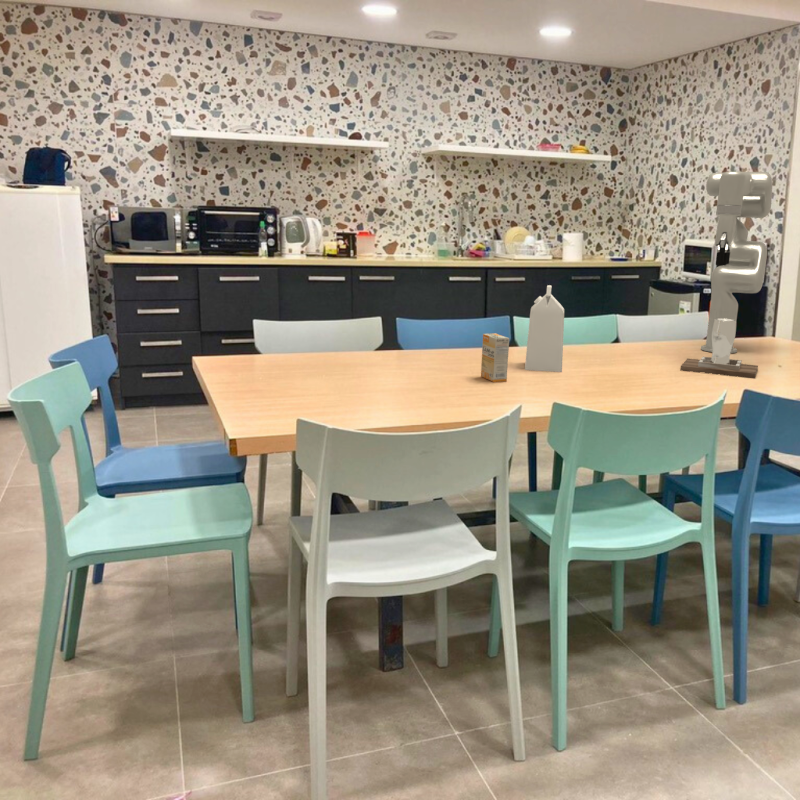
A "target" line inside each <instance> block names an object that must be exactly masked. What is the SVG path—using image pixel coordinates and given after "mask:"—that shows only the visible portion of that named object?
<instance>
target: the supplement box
mask: <svg viewBox="0 0 800 800" xmlns="http://www.w3.org/2000/svg"><path fill="white" fill-rule="evenodd" d="M509 345H510V337H507V336H504V335H501V334H498V333H496V332H495V333H482V346H481V348H482V349H481V350H482V351H481V366H480V377H481V378H484V379H485V380H488V381H491V382H492V383H503V382H505V383H506V382H507V379H508V364H509V350H510V349H509V347H510V346H509Z"/></svg>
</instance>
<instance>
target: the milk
mask: <svg viewBox="0 0 800 800" xmlns="http://www.w3.org/2000/svg"><path fill="white" fill-rule="evenodd" d="M533 303H534V304H533V305H532V306H531V308H530V313H529V322H528V334H527V341H526V342H527V343H526V352H525V354H526V355H525V365H524V370H525V371H539V372H551V373H552V372H554V373H563V356H564V355H563V354H564V353H563V351H564V330H565V329H564V328H565V308H564V307H563V305H562V304H561V303H560V302H559V301H558V300H557V299H556V297H554V295H553V294H552V285H550V284H549V285H548V284H547V286H546V293H545V294H544V295H543V296H541V295H539V296H538V297H537V298H536V299H535V300H534V301H533Z"/></svg>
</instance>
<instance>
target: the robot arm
mask: <svg viewBox="0 0 800 800" xmlns="http://www.w3.org/2000/svg"><path fill="white" fill-rule="evenodd" d="M705 185H706V193H707V195H708V196H712V197H717V201H716V202H717V204H716V212H715V216H716V217H717V216H718V219H717V225H716V233H715V239H714V246H715V247H718V248H717V252H716V258H715V265H716V266H717V267H714V269H713V270H712V272H711V276H710V279H711V280H710V283H711V292H710V293H711V295H710V296H711V297H710V305H709V306H710V307H709V314H708V322H707V323H708V324H707V330H706V332H707V333H706V338H705V339H706V340H705V344H704V345H701V346H700V350H701V351H704V352H709V353H712V352H713V350H712V330H713V324H714V319H716V318H725V319H734V320H736V321H737V319H738V312H739V303H738V301H737V299H736V297H735V296H734V295H733V293H739V294H740V293H741V294H757V293H759V292H760V291H761V289H762V287H763V285H764V279H765V271H766V265H767V257H768V248H767V246H766V243H764V242H762V241H756V240H753V241H752V240H748V235H749V230H748V229H747V227H746V225H745V224H744V223H743V222H742V221H741V220H740V219H739V218H754V219H761V218H762V219H763V218H766V217H767V216H768V215H769V214H770V212H771V209H772V195H773V180H772V176H771V174H770V173H768V172H766V171H725V172H712V173H711V174H710V175H709V176H708V177H707V180H706V184H705ZM737 352H738V349H737V348H736V347H734V345H733V346H732V349H731V352H730V354H735V353H737Z"/></svg>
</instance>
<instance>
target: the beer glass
mask: <svg viewBox="0 0 800 800" xmlns="http://www.w3.org/2000/svg"><path fill="white" fill-rule="evenodd" d="M736 332H737V320H734V319H725V318H716V319H714V324H713V330H712V350H713V352H711V353H712V355H711V357H712V358H711V361H710V363H718V364H728V365H730V359H731V358H730V356H731V353H730V352H731V349H732V346H733V347H734V342H735V338H736Z"/></svg>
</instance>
